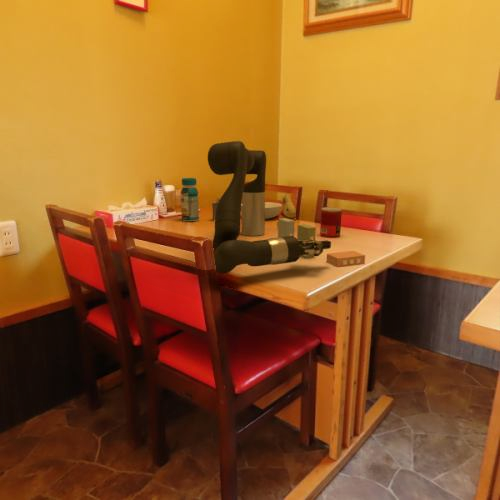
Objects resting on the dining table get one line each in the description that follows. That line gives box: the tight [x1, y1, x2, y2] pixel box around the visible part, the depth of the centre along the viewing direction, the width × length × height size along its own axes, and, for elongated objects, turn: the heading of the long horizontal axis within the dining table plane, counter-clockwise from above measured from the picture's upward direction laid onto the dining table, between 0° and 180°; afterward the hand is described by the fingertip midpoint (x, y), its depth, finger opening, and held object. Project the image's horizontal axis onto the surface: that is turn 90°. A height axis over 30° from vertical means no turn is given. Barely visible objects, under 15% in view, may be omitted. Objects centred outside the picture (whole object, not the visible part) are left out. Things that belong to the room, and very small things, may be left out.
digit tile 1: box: [277, 218, 296, 237], centre depth 146 cm, size 3×6×10 cm, turn 27°
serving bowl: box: [241, 201, 283, 220], centre depth 203 cm, size 21×21×7 cm
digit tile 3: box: [326, 250, 366, 268], centre depth 128 cm, size 3×6×10 cm
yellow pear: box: [276, 193, 297, 227], centre depth 177 cm, size 7×11×15 cm, turn 30°
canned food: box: [319, 206, 343, 239], centre depth 164 cm, size 8×8×11 cm
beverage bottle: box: [180, 177, 200, 222], centre depth 195 cm, size 8×8×20 cm
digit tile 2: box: [296, 223, 317, 259], centre depth 135 cm, size 3×6×10 cm, turn 27°
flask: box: [212, 197, 221, 221], centre depth 198 cm, size 9×3×11 cm, turn 151°
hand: (329, 244), depth 123 cm, fingers closed
